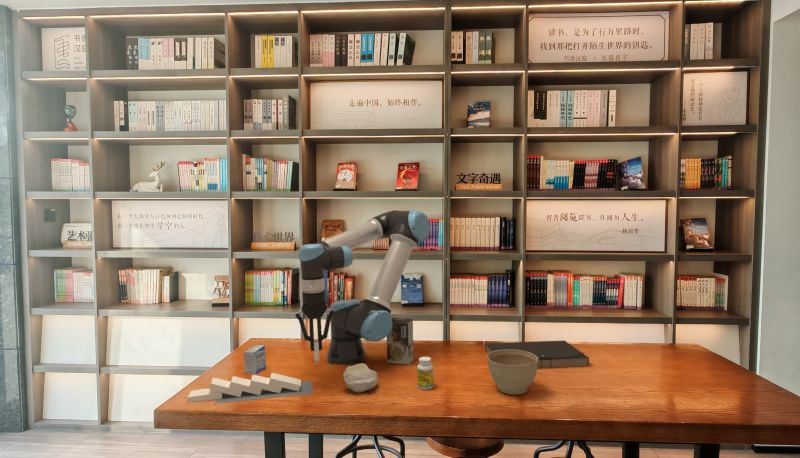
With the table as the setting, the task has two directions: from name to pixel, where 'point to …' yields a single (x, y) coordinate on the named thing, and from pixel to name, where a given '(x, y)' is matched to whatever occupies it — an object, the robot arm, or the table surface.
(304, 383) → the mat
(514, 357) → the planter bowl
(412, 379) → the table surface
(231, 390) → the domino
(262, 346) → the medicine box
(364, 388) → the fossil replica
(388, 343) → the coffee box
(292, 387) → the domino
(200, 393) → the domino
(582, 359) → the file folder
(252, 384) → the domino
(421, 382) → the supplement bottle
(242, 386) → the domino
